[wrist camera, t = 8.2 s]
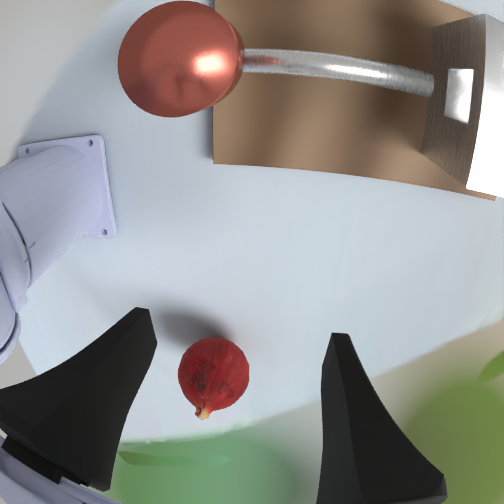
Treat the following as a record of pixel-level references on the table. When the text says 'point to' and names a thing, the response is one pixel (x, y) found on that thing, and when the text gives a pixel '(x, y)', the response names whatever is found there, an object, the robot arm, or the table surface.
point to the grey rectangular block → (468, 103)
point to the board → (333, 91)
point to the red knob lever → (227, 62)
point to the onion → (213, 375)
